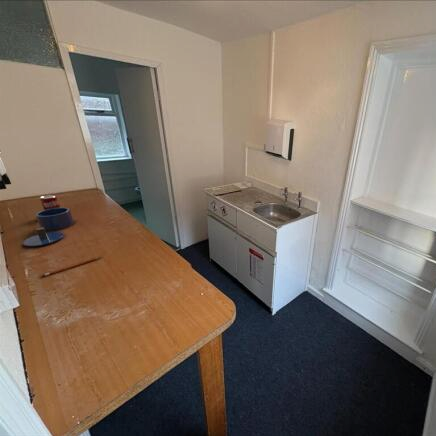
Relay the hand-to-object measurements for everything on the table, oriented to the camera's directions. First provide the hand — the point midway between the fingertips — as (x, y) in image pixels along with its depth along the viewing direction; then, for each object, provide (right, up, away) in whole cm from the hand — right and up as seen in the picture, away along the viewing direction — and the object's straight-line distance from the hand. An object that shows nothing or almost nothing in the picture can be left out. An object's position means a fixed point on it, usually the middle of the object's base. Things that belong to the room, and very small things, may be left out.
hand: (4, 186), depth 112 cm
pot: (+4, -19, +22) cm, 30 cm away
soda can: (-11, -13, +35) cm, 39 cm away
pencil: (+46, -37, -12) cm, 60 cm away
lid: (+13, -26, +6) cm, 30 cm away
